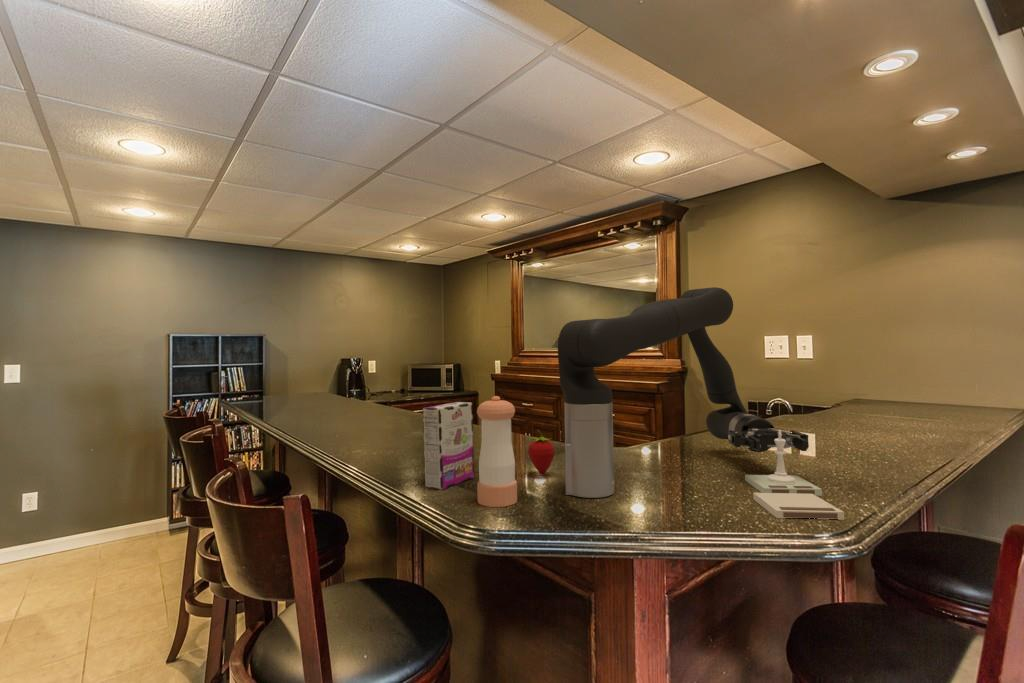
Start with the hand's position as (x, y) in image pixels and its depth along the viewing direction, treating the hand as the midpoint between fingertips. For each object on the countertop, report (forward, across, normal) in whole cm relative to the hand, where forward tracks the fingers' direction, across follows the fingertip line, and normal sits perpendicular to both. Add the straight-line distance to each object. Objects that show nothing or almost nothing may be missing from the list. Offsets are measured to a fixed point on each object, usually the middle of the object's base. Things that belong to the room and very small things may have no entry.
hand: (781, 445), depth 94 cm
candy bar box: (0, -66, +8) cm, 67 cm away
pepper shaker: (+12, -54, +8) cm, 56 cm away
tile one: (+13, -3, +8) cm, 15 cm away
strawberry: (-7, -47, +8) cm, 48 cm away
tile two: (0, 0, +8) cm, 8 cm away
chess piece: (0, 0, +7) cm, 7 cm away
